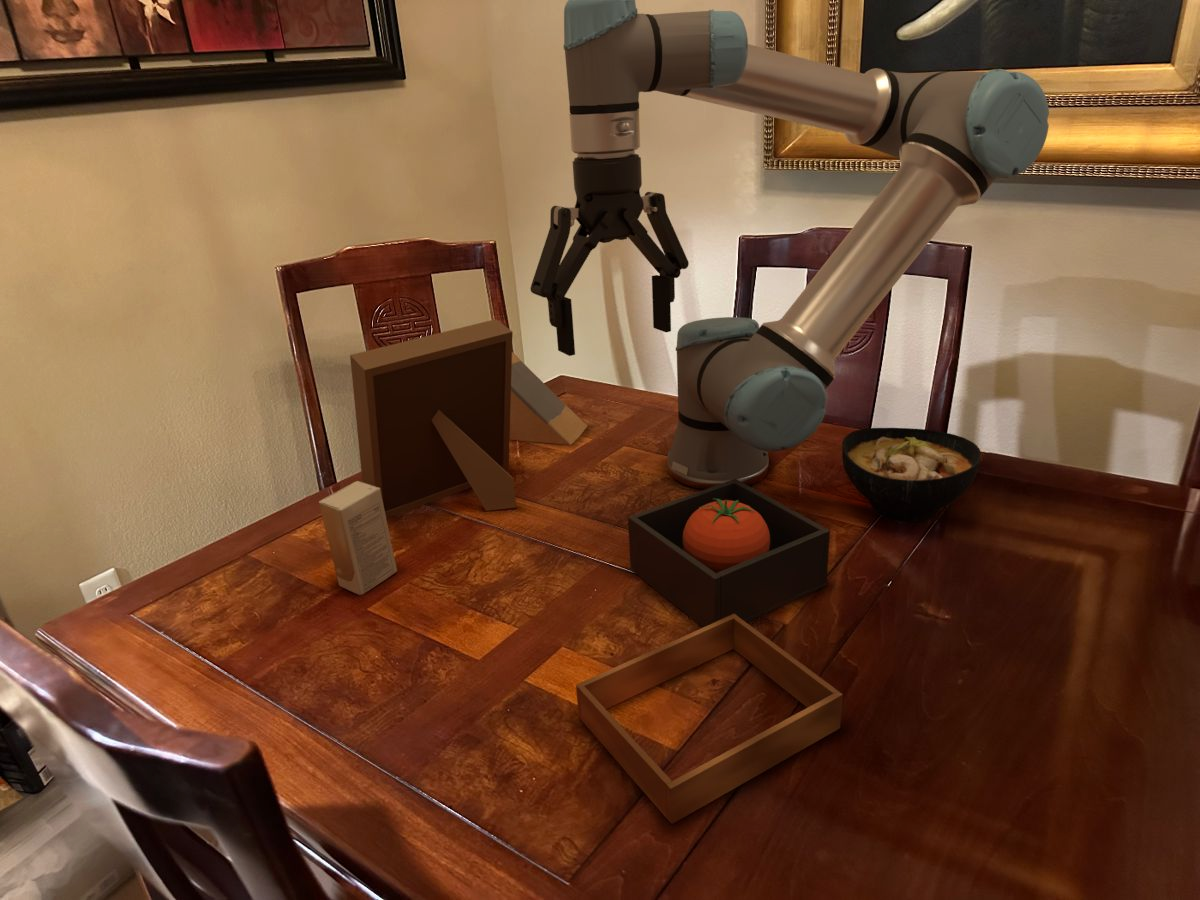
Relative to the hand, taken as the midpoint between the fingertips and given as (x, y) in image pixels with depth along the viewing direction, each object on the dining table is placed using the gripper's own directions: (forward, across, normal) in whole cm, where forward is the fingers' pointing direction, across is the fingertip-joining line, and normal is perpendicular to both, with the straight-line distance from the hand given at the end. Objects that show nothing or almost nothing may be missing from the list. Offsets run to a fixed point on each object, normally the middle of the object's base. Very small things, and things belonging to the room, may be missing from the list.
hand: (615, 341), depth 101 cm
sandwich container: (+27, +7, +38) cm, 47 cm away
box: (+27, -13, -34) cm, 45 cm away
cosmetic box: (+27, -32, +10) cm, 43 cm away
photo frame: (+27, -15, +22) cm, 38 cm away
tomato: (+26, +4, -16) cm, 31 cm away
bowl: (+27, +34, -17) cm, 46 cm away
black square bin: (+27, +4, -16) cm, 31 cm away
